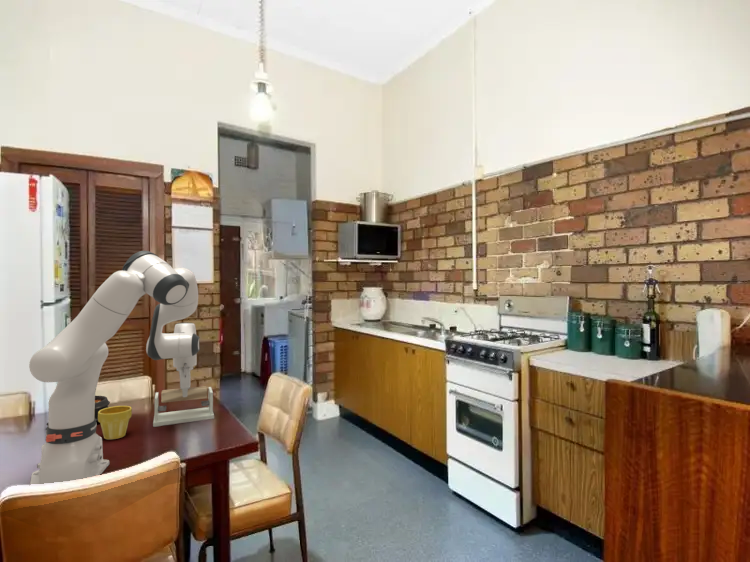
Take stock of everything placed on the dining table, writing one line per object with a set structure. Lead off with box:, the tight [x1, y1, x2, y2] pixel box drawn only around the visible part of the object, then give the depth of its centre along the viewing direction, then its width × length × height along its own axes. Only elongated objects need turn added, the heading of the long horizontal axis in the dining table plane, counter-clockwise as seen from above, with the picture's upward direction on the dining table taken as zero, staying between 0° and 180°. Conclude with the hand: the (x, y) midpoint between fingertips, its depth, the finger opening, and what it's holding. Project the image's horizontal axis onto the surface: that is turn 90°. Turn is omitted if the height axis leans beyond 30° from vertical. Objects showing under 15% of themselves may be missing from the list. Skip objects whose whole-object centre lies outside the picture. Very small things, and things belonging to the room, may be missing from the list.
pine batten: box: [160, 386, 208, 404], centre depth 168 cm, size 4×17×4 cm, turn 113°
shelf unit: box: [152, 386, 215, 428], centre depth 168 cm, size 12×22×10 cm, turn 116°
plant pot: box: [97, 405, 133, 441], centre depth 148 cm, size 10×10×10 cm
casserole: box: [46, 395, 111, 426], centre depth 164 cm, size 25×19×8 cm
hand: (184, 395), depth 168 cm, fingers closed on pine batten, 4 cm apart
